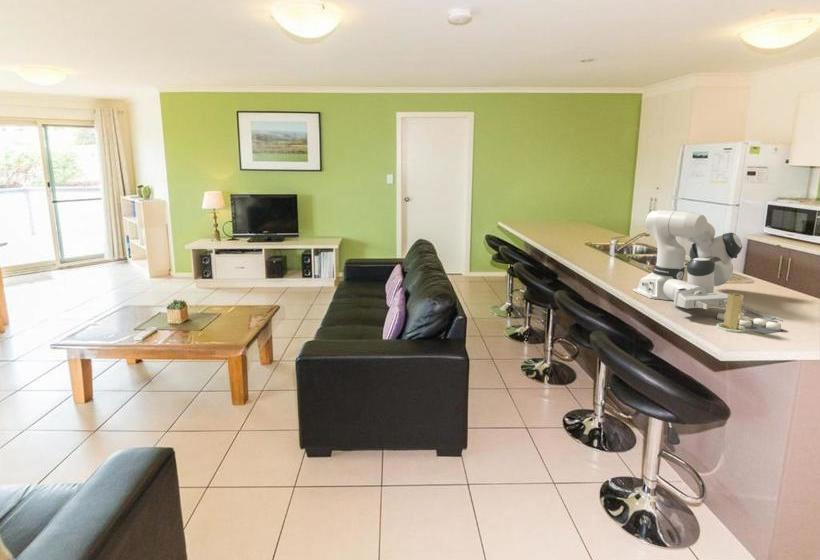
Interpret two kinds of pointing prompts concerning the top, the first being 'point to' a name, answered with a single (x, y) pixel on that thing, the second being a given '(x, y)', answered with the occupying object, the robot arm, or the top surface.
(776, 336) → the top surface
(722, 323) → the dish
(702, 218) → the robot arm
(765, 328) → the mat
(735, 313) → the coupling nut
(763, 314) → the adjustable wrench
